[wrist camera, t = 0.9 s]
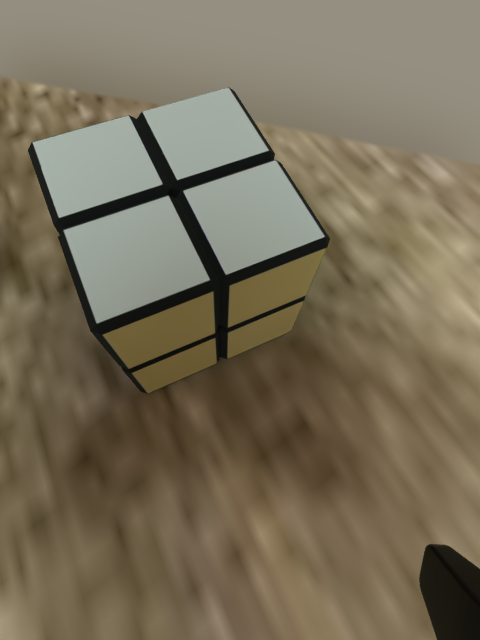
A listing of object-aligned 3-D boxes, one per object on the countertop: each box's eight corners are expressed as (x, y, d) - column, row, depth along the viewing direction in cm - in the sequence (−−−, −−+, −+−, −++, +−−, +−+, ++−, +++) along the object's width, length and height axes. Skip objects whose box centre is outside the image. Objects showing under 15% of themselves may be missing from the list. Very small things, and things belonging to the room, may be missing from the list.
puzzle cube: (91, 261, 26) (22, 139, 17) (228, 212, 28) (231, 80, 19) (143, 397, 23) (90, 336, 14) (294, 331, 25) (336, 239, 16)
